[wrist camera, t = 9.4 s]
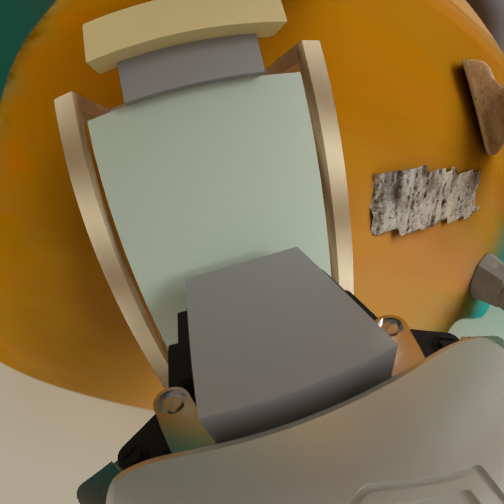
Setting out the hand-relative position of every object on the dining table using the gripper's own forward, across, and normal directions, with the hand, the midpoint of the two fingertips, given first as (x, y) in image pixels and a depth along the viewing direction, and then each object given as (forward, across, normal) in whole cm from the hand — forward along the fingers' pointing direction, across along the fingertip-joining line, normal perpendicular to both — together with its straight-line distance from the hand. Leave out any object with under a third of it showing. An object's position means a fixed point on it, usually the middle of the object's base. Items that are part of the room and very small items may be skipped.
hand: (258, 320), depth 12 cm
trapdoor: (+4, 0, -5) cm, 6 cm away
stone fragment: (+14, -28, +2) cm, 31 cm away
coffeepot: (+13, -44, +21) cm, 51 cm away
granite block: (+1, 0, 0) cm, 1 cm away
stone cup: (+14, -42, -10) cm, 45 cm away
